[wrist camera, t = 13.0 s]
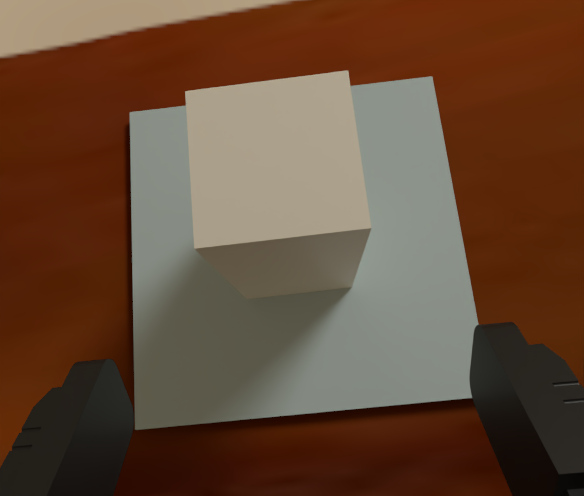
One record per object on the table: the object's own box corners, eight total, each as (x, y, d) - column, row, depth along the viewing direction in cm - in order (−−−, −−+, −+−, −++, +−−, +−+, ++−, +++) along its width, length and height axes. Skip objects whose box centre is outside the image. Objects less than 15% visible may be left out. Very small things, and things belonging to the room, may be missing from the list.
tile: (429, 83, 27) (432, 76, 26) (487, 395, 23) (491, 395, 22) (133, 118, 27) (129, 112, 27) (139, 428, 23) (135, 430, 23)
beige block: (338, 188, 25) (348, 70, 15) (352, 287, 24) (371, 227, 14) (238, 200, 25) (185, 91, 15) (246, 299, 24) (194, 248, 14)
